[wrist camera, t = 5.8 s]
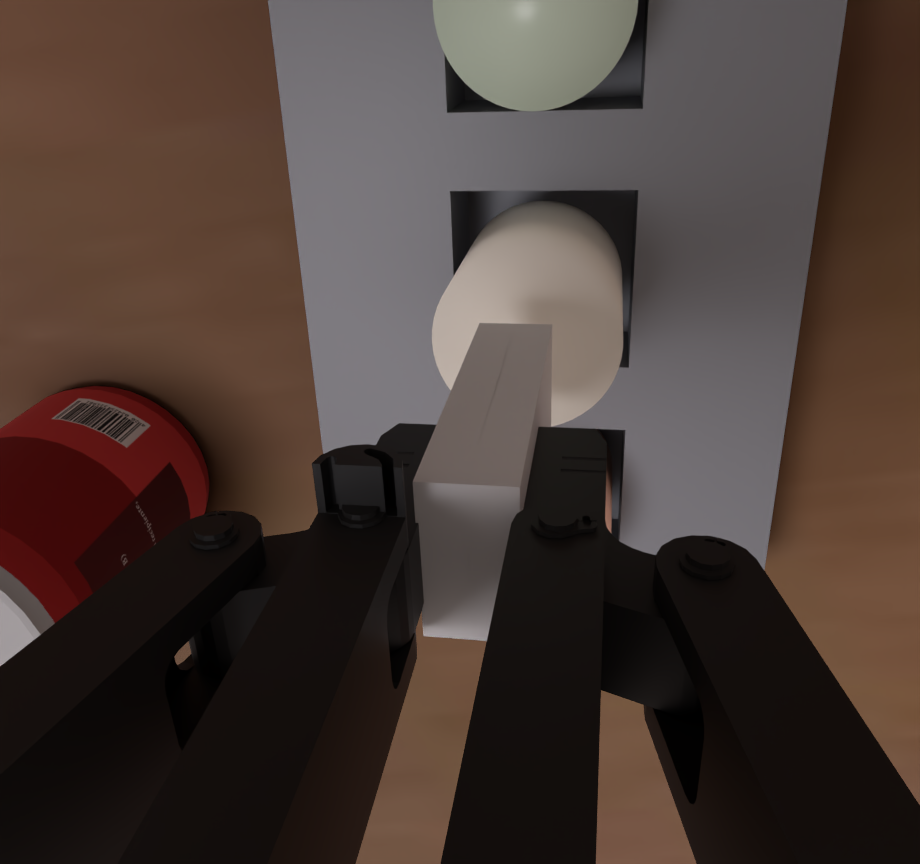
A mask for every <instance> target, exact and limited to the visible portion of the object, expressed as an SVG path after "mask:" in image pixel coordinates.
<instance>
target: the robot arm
mask: <svg viewBox="0 0 920 864" xmlns="http://www.w3.org/2000/svg"><path fill="white" fill-rule="evenodd" d="M551 397H552V324H510V323H479V325H478V328H477V330H476V332H475V335H474V337H473V339H472V342H471V344H470V347H469V349H468V351H467V354H466V356H465V358H464V361H463V363H462V366H461V368H460V370H459V373H458V375H457V377H456V380H455V382H454V385H453V387H452V389H451V392H450V394H449V396H448V399H447V401H446V404H445V406H444V408H443V411H442V413H441V415H440V418H439V420H438V423H437V425H434V424H408V423H399V424H397V425H396V426H394V427H393V428H391V429H390V430H388V431H387V432H385V433H384V434H383V435H381V437H380V438H379V440H378V442H377V444H376V445H370V444H362V445H349V446H345V447H341V448H336V449H333V450H331V451H329V452H327V453H325V454H322V455H320V456H319V457H318V458H317V459H316V460H315V461H314V462H313V463H312V468H313V476H314V483H315V491H316V499H317V506H318V514H317V516H316V518H315V519H314V521H313V523H312V525H311V526H310V528H309V529H308V530H305V531H300V532H295V533H289V534H281V535H274V536H266V537H263V532H262V526H261V523H260V522H259V521H258V520H257V519H256V518H255V517H254V516H252V515H249V514H246V513H244V512H237V511H219V512H217V511H214V512H209V513H206V514H204V515H201V516H198V517H195V518H192V519H190V520H188V521H187V522H185V523H183V524H182V525H180V526H178V527H177V528H176V529H174V530H173V531H172V532H170V533H169V534H168V535H167V536H165V537H164V538H163V539H162V540H160V541H159V542H158V543H156V544H155V545H154V546H153V547H151V548H150V549H149V550H148V551H146V552H145V553H144V554H142V555H141V556H140V557H139V558H137V559H136V560H135V561H134V562H132V563H131V564H130V565H128V566H127V567H126V568H125V569H123V570H122V571H121V572H120V573H118V574H117V575H116V576H114V577H113V578H112V579H111V580H109V581H108V582H107V583H106V584H104V585H103V586H102V587H100V588H99V589H98V590H97V591H95V592H94V593H93V594H92V595H90V596H89V597H88V598H86V599H85V600H84V601H83V602H81V603H80V604H79V605H78V606H76V607H75V608H74V609H72V610H71V611H70V612H69V613H67V614H66V615H65V616H64V617H62V618H61V619H60V620H58V621H57V622H56V623H55V624H53V625H52V626H51V627H50V628H48V629H47V630H46V631H45V632H43V633H42V634H41V635H39V636H38V637H37V638H36V639H34V640H33V641H32V642H31V643H29V644H28V645H27V646H25V647H24V648H23V649H22V650H20V651H19V652H18V653H17V654H15V655H14V656H13V657H11V658H10V659H9V660H8V661H6V662H5V663H4V664H3V665H1V666H0V864H355V863H356V860H357V857H358V853H359V850H360V847H361V843H362V840H363V837H364V833H365V830H366V827H367V823H368V820H369V816H370V813H371V810H372V806H373V803H374V800H375V796H376V793H377V790H378V786H379V783H380V780H381V776H382V773H383V770H384V766H385V763H386V760H387V756H388V753H389V750H390V746H391V743H392V740H393V736H394V733H395V729H396V726H397V723H398V719H399V716H400V713H401V709H402V706H403V703H404V699H405V696H406V693H407V689H408V686H409V683H410V679H411V676H412V673H413V669H414V666H415V663H416V659H417V644H416V631H415V629H416V626H417V623H418V620H419V617H420V614H421V611H422V621H423V635H424V636H431V637H444V638H456V639H469V640H482V641H487V643H486V648H485V652H484V657H483V662H482V667H481V672H480V676H479V681H478V686H477V691H476V696H475V701H474V705H473V710H472V715H471V720H470V725H469V729H468V734H467V739H466V744H465V749H464V754H463V758H462V763H461V768H460V773H459V778H458V782H457V787H456V792H455V797H454V802H453V807H452V811H451V816H450V821H449V826H448V831H447V836H446V840H445V845H444V850H443V855H442V860H441V864H596V834H597V800H598V766H599V733H600V699H601V690H603V691H606V692H608V693H611V694H614V695H617V696H620V697H623V698H626V699H629V700H632V701H635V702H637V703H640V704H643V705H644V714H645V721H646V723H647V726H648V729H649V732H650V735H651V737H652V740H653V743H654V746H655V748H656V751H657V754H658V757H659V760H660V762H661V765H662V768H663V771H664V774H665V776H666V779H667V782H668V785H669V788H670V790H671V793H672V796H673V799H674V801H675V804H676V807H677V810H678V813H679V815H680V818H681V821H682V824H683V827H684V829H685V832H686V835H687V838H688V841H689V843H690V846H691V849H692V852H693V855H694V857H695V860H696V863H697V864H920V805H919V804H918V802H917V801H916V799H915V798H914V796H913V795H912V793H911V792H910V790H909V789H908V787H907V785H906V784H905V782H904V781H903V779H902V778H901V776H900V775H899V773H898V772H897V770H896V769H895V767H894V766H893V764H892V763H891V761H890V760H889V758H888V757H887V755H886V754H885V752H884V751H883V749H882V748H881V746H880V745H879V743H878V742H877V740H876V739H875V737H874V736H873V734H872V733H871V731H870V730H869V728H868V727H867V725H866V724H865V722H864V721H863V719H862V717H861V716H860V714H859V713H858V711H857V710H856V708H855V707H854V705H853V704H852V702H851V701H850V699H849V698H848V696H847V695H846V693H845V692H844V690H843V689H842V687H841V686H840V684H839V683H838V681H837V680H836V678H835V677H834V675H833V674H832V672H831V671H830V669H829V668H828V666H827V665H826V663H825V662H824V660H823V659H822V657H821V656H820V654H819V653H818V651H817V649H816V648H815V646H814V645H813V643H812V642H811V640H810V639H809V637H808V636H807V634H806V633H805V631H804V630H803V628H802V627H801V625H800V624H799V622H798V621H797V619H796V618H795V616H794V615H793V613H792V612H791V610H790V609H789V607H788V606H787V604H786V603H785V601H784V600H783V598H782V597H781V595H780V594H779V592H778V591H777V589H776V588H775V586H774V585H773V583H772V581H771V580H770V578H769V577H768V575H767V574H766V572H765V571H764V569H763V568H762V566H761V565H760V563H759V562H758V560H757V559H756V558H755V557H754V556H753V555H752V554H751V553H750V552H749V551H748V550H747V549H745V548H743V547H741V546H739V545H737V544H735V543H733V542H731V541H729V540H725V539H722V538H717V537H713V536H698V535H690V536H685V537H680V538H675V539H673V540H671V541H669V542H667V543H665V544H664V545H662V546H661V547H660V549H659V551H658V552H657V554H656V555H653V554H649V553H645V552H642V551H639V550H637V549H634V548H631V547H629V546H627V545H625V544H624V543H622V542H620V541H619V540H618V539H616V538H615V537H614V536H613V535H612V534H611V533H610V531H609V530H608V528H607V526H606V521H605V505H606V466H607V442H606V441H605V440H604V439H603V437H602V436H601V435H600V434H599V432H598V431H597V430H596V429H589V428H564V427H551ZM188 641H189V645H190V649H191V653H192V654H191V655H190V656H189V657H188V658H187V659H186V660H185V661H184V662H182V663H181V664H179V665H177V664H176V662H175V658H174V656H175V655H176V653H177V652H178V650H179V649H180V648H181V647H183V646H184V645H185V644H186V643H187V642H188Z"/></svg>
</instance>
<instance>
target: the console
mask: <svg viewBox="0 0 920 864" xmlns="http://www.w3.org/2000/svg"><path fill="white" fill-rule="evenodd" d="M847 1H848V0H638V7H637V15H636V19H635V23H634V28H633V31H632V34H631V36H630V39H629V42H628V44H627V46H626V48H625V50H624V52H623V54H622V56H621V58H620V59H619V61H618V62H617V64H616V65H615V67H614V68H613V69H612V71H611V72H610V73H609V74H608V75H607V77H606V78H605V79H604V80H603V81H602V82H601V83H600V84H598V85H597V86H596V87H595V88H594V89H593V90H591V91H590V92H589V93H587V94H586V95H584V96H583V97H581V98H579V99H577V100H576V101H574V102H572V103H569V104H567V105H564V106H561V107H559V108H554V109H550V110H545V111H534V112H533V111H519V110H514V109H508V108H505V107H502V106H499V105H497V104H494V103H492V102H490V101H488V100H486V99H485V98H483V97H482V96H480V95H479V94H477V93H476V92H474V91H473V90H472V89H471V88H470V87H469V86H468V85H467V84H465V83H464V82H463V80H462V79H461V78H460V77H459V76H458V75H457V73H456V72H455V71H454V69H453V68H452V66H451V65H450V63H449V61H448V60H447V58H446V56H445V54H444V52H443V49H442V47H441V44H440V41H439V38H438V36H437V31H436V27H435V22H434V14H433V0H268V6H269V14H270V22H271V30H272V38H273V46H274V55H275V63H276V71H277V79H278V87H279V96H280V104H281V112H282V120H283V128H284V137H285V145H286V153H287V161H288V169H289V177H290V186H291V194H292V202H293V210H294V218H295V227H296V235H297V243H298V251H299V259H300V268H301V276H302V284H303V292H304V300H305V308H306V317H307V325H308V333H309V341H310V349H311V358H312V366H313V374H314V382H315V390H316V399H317V407H318V415H319V423H320V431H321V439H322V448H323V454H325V453H327V452H329V451H331V450H333V449H336V448H341V447H345V446H349V445H362V444H370V445H376V444H377V442H378V440H379V438H380V437H381V435H383V434H384V433H385V432H387V431H388V430H390V429H391V428H393V427H394V426H396V425H397V424H399V423H408V424H434V425H437V423H438V420H439V418H440V415H441V413H442V411H443V408H444V406H445V404H446V401H447V399H448V396H449V394H450V392H451V390H450V389H449V388H448V386H447V385H446V383H445V381H444V380H443V378H442V376H441V374H440V372H439V369H438V367H437V364H436V361H435V357H434V353H433V346H432V326H433V320H434V316H435V312H436V309H437V306H438V304H439V302H440V299H441V297H442V295H443V293H444V292H445V290H446V288H447V287H448V285H449V283H450V282H451V280H452V278H453V276H454V275H455V273H456V271H457V270H458V268H459V266H460V265H461V263H462V261H463V259H464V258H465V256H466V254H467V253H468V251H469V249H470V247H471V246H472V244H473V242H474V241H475V239H476V238H477V236H478V234H479V233H480V232H481V230H482V229H483V228H484V227H485V226H486V224H488V223H489V222H490V221H491V220H492V219H493V218H494V217H496V216H497V215H499V214H500V213H501V212H503V211H505V210H507V209H509V208H511V207H513V206H516V205H519V204H522V203H526V202H531V201H555V202H561V203H565V204H568V205H571V206H574V207H576V208H578V209H580V210H582V211H584V212H586V213H587V214H589V215H590V216H591V217H593V218H594V219H595V220H596V221H597V222H599V223H600V224H601V225H602V227H603V228H604V229H605V230H606V231H607V232H608V234H609V236H610V237H611V239H612V240H613V242H614V244H615V246H616V249H617V251H618V254H619V257H620V261H621V267H622V295H623V351H622V358H621V362H620V365H619V369H618V371H617V374H616V376H615V378H614V380H613V382H612V384H611V385H610V387H609V389H608V390H607V392H606V393H605V394H604V395H603V397H602V398H601V399H600V400H599V401H598V402H597V403H596V404H595V405H594V406H593V407H591V408H590V409H589V410H587V411H586V412H585V413H583V414H582V415H580V416H578V417H576V418H574V419H573V420H570V421H568V422H565V423H563V424H560V425H556V426H552V427H564V428H589V429H598V430H599V431H600V432H601V434H602V435H603V436H604V438H605V440H606V442H607V444H608V446H609V449H610V452H611V457H612V524H611V534H612V535H613V536H614V537H615V538H616V539H618V540H619V541H620V542H622V543H624V544H625V545H627V546H629V547H631V548H634V549H637V550H639V551H642V552H645V553H649V554H653V555H656V554H657V552H658V551H659V549H660V547H661V546H662V545H664V544H665V543H667V542H669V541H671V540H673V539H675V538H680V537H685V536H690V535H698V536H713V537H717V538H722V539H725V540H729V541H731V542H733V543H735V544H737V545H739V546H741V547H743V548H745V549H747V550H748V551H749V552H750V553H751V554H752V555H753V556H754V557H755V558H756V559H757V560H758V562H759V563H760V565H761V566H762V568H763V569H765V562H766V555H767V549H768V542H769V535H770V528H771V521H772V514H773V508H774V501H775V494H776V487H777V480H778V473H779V466H780V460H781V453H782V446H783V439H784V432H785V425H786V419H787V412H788V405H789V398H790V391H791V384H792V378H793V371H794V364H795V357H796V350H797V343H798V336H799V330H800V323H801V316H802V309H803V302H804V295H805V289H806V282H807V275H808V268H809V261H810V254H811V248H812V241H813V234H814V227H815V220H816V213H817V206H818V200H819V193H820V186H821V179H822V172H823V165H824V159H825V152H826V145H827V138H828V131H829V124H830V118H831V111H832V104H833V97H834V90H835V83H836V76H837V70H838V63H839V56H840V49H841V42H842V35H843V29H844V22H845V15H846V8H847Z"/></svg>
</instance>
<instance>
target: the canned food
mask: <svg viewBox="0 0 920 864" xmlns="http://www.w3.org/2000/svg"><path fill="white" fill-rule="evenodd" d="M208 496H209V476H208V470H207V466H206V463H205V460H204V458H203V455H202V452H201V450H200V449H199V447H198V445H197V444H196V442H195V440H194V439H193V437H192V436H191V434H190V433H189V432H188V431H187V430H186V428H185V427H184V426H183V425H182V424H181V423H180V422H179V421H178V420H177V419H176V418H175V417H174V416H172V415H171V414H170V413H169V412H168V411H167V410H165V409H164V408H162V407H161V406H159V405H157V404H156V403H154V402H153V401H151V400H149V399H147V398H145V397H142V396H140V395H138V394H135V393H133V392H131V391H127V390H122V389H118V388H114V387H104V386H90V387H82V388H76V389H71V390H66V391H62V392H59V393H57V394H54V395H51V396H48V397H46V398H45V399H43V400H42V401H40V402H39V403H37V404H36V405H34V406H33V407H31V408H30V409H28V410H27V411H25V412H24V413H23V414H21V415H20V416H18V417H17V418H15V419H14V420H13V421H11V422H10V423H8V424H7V425H5V426H4V427H2V428H1V429H0V666H1V665H3V664H4V663H5V662H6V661H8V660H9V659H10V658H11V657H13V656H14V655H15V654H17V653H18V652H19V651H20V650H22V649H23V648H24V647H25V646H27V645H28V644H29V643H31V642H32V641H33V640H34V639H36V638H37V637H38V636H39V635H41V634H42V633H43V632H45V631H46V630H47V629H48V628H50V627H51V626H52V625H53V624H55V623H56V622H57V621H58V620H60V619H61V618H62V617H64V616H65V615H66V614H67V613H69V612H70V611H71V610H72V609H74V608H75V607H76V606H78V605H79V604H80V603H81V602H83V601H84V600H85V599H86V598H88V597H89V596H90V595H92V594H93V593H94V592H95V591H97V590H98V589H99V588H100V587H102V586H103V585H104V584H106V583H107V582H108V581H109V580H111V579H112V578H113V577H114V576H116V575H117V574H118V573H120V572H121V571H122V570H123V569H125V568H126V567H127V566H128V565H130V564H131V563H132V562H134V561H135V560H136V559H137V558H139V557H140V556H141V555H142V554H144V553H145V552H146V551H148V550H149V549H150V548H151V547H153V546H154V545H155V544H156V543H158V542H159V541H160V540H162V539H163V538H164V537H165V536H167V535H168V534H169V533H170V532H172V531H173V530H174V529H176V528H177V527H178V526H180V525H182V524H183V523H185V522H187V521H188V520H190V519H192V518H195V517H198V516H201V515H204V513H205V510H206V506H207V502H208Z"/></svg>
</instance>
